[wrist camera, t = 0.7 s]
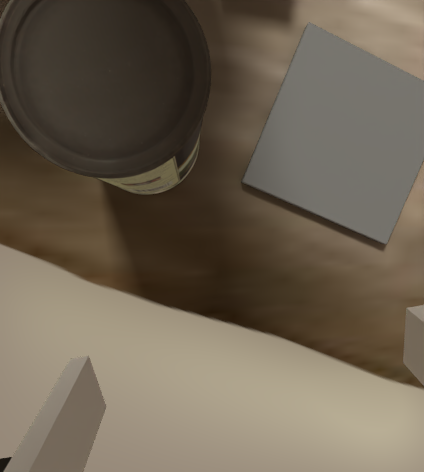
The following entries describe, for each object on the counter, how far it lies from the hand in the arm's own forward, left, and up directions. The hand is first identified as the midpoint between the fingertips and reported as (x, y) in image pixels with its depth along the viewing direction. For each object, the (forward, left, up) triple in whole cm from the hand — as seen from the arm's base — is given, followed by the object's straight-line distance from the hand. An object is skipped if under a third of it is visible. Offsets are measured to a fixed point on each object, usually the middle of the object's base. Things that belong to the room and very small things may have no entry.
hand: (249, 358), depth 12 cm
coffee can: (-9, -11, -18) cm, 23 cm away
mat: (-17, +7, -17) cm, 26 cm away
